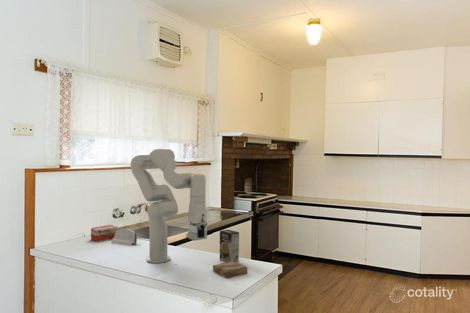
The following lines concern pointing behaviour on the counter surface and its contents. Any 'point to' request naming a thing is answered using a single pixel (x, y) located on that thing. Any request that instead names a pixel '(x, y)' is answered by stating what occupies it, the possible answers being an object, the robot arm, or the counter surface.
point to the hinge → (125, 237)
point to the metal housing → (195, 232)
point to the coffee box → (229, 246)
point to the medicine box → (103, 232)
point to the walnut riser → (230, 269)
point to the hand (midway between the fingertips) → (197, 235)
